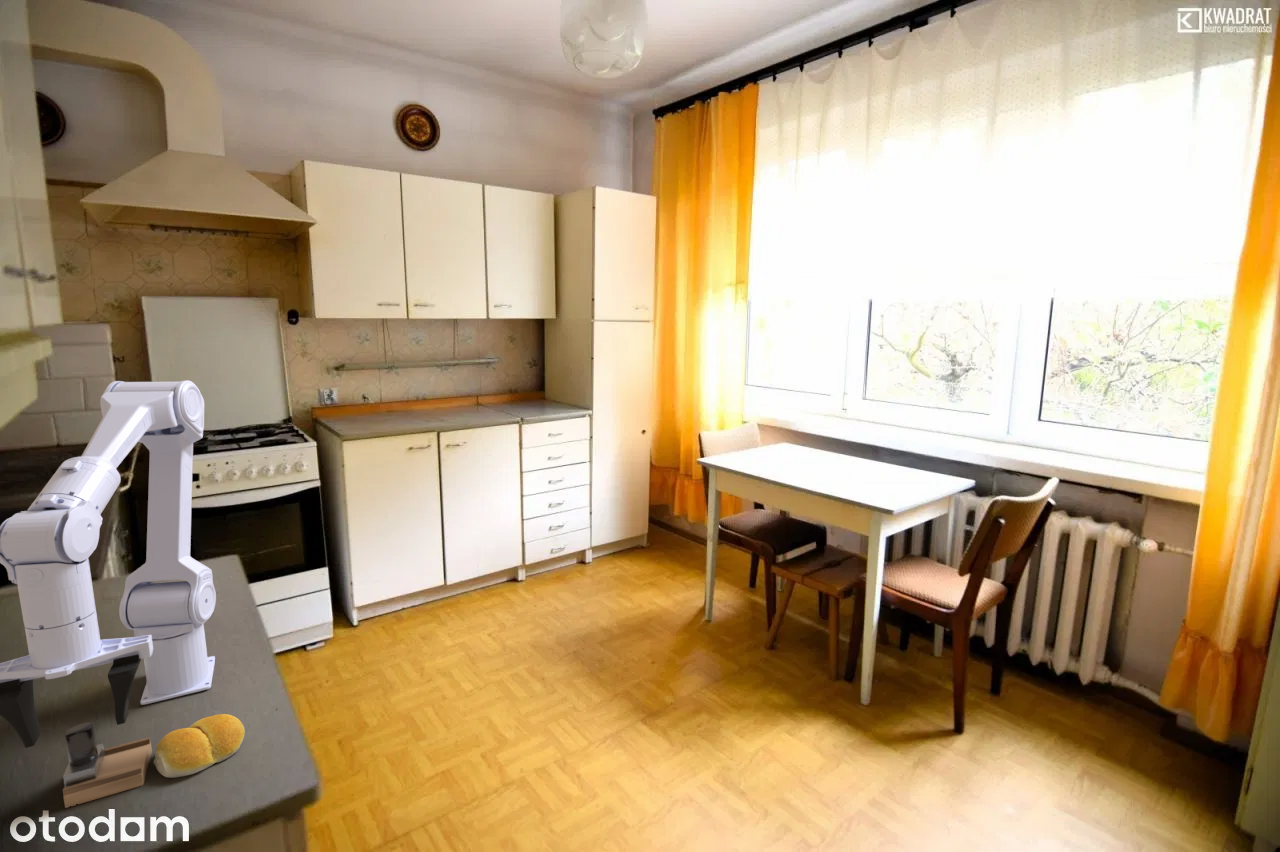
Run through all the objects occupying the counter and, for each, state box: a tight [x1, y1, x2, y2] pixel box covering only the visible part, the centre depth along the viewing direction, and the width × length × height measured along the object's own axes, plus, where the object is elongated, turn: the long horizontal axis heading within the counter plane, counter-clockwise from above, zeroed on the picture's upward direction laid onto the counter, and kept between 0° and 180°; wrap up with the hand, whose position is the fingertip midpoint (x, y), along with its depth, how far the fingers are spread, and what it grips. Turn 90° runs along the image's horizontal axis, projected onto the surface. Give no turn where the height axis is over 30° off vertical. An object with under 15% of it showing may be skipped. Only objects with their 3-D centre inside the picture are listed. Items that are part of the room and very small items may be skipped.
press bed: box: [62, 736, 153, 809], centre depth 71 cm, size 6×7×2 cm
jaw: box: [62, 722, 105, 787], centre depth 70 cm, size 5×3×5 cm, turn 31°
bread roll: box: [153, 713, 246, 779], centre depth 76 cm, size 8×9×4 cm
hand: (78, 730), depth 69 cm, fingers open, 7 cm apart
